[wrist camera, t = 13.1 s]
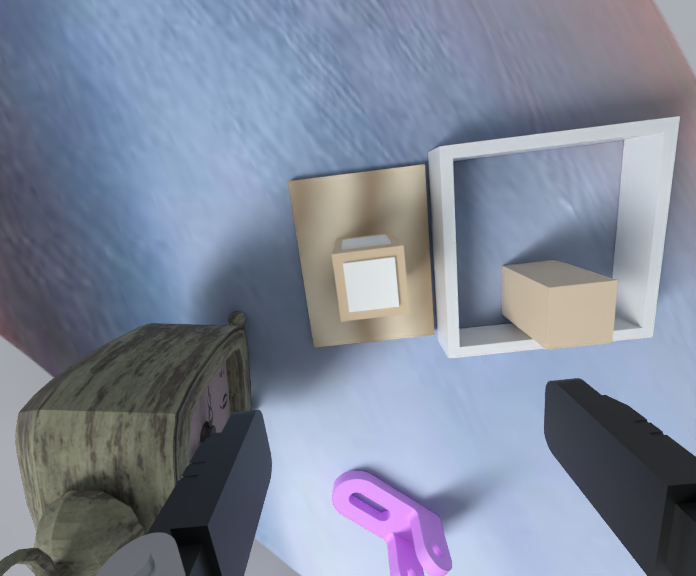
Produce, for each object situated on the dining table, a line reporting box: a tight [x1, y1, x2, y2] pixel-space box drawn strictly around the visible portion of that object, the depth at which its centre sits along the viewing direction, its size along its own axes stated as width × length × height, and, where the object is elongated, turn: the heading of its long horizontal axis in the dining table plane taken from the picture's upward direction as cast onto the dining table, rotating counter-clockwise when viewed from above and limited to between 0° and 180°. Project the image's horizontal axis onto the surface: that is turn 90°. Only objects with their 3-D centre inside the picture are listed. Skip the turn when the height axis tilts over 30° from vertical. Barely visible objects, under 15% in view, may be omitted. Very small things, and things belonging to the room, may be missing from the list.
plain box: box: [502, 260, 618, 350], centre depth 30 cm, size 5×5×8 cm
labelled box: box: [332, 233, 409, 322], centre depth 28 cm, size 5×5×8 cm
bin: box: [428, 116, 680, 358], centre depth 31 cm, size 18×18×4 cm
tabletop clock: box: [0, 311, 251, 576], centre depth 24 cm, size 14×9×25 cm, turn 178°
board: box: [288, 164, 434, 348], centre depth 33 cm, size 12×16×1 cm
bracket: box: [332, 470, 452, 576], centre depth 38 cm, size 13×6×7 cm, turn 53°
